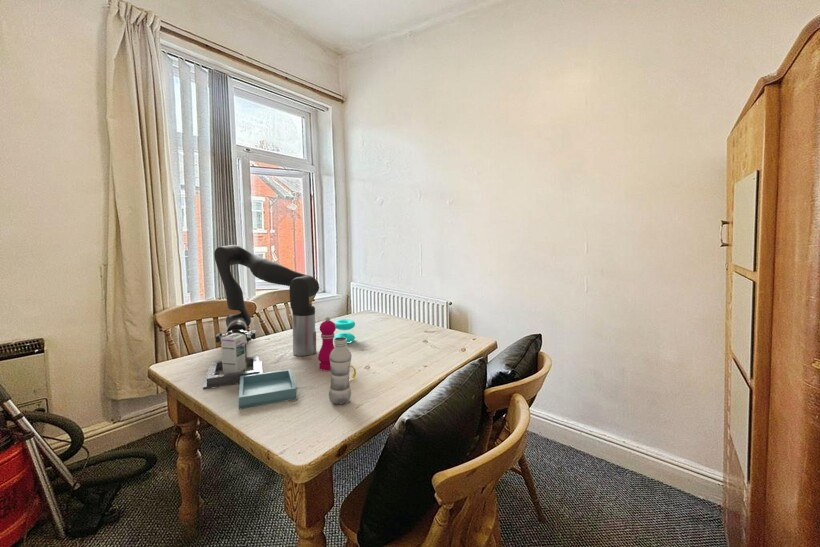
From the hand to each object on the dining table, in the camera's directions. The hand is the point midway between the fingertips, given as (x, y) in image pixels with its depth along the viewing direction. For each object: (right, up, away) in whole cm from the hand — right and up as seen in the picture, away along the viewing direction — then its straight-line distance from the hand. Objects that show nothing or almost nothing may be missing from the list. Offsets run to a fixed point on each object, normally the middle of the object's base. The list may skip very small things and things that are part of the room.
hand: (235, 341), depth 129 cm
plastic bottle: (+46, -14, -26) cm, 55 cm away
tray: (+22, -12, -21) cm, 33 cm away
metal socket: (+4, -10, -9) cm, 14 cm away
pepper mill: (+36, -10, 0) cm, 37 cm away
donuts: (+36, -7, +32) cm, 48 cm away
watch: (+46, -12, -11) cm, 48 cm away
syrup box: (+4, -10, -9) cm, 14 cm away
